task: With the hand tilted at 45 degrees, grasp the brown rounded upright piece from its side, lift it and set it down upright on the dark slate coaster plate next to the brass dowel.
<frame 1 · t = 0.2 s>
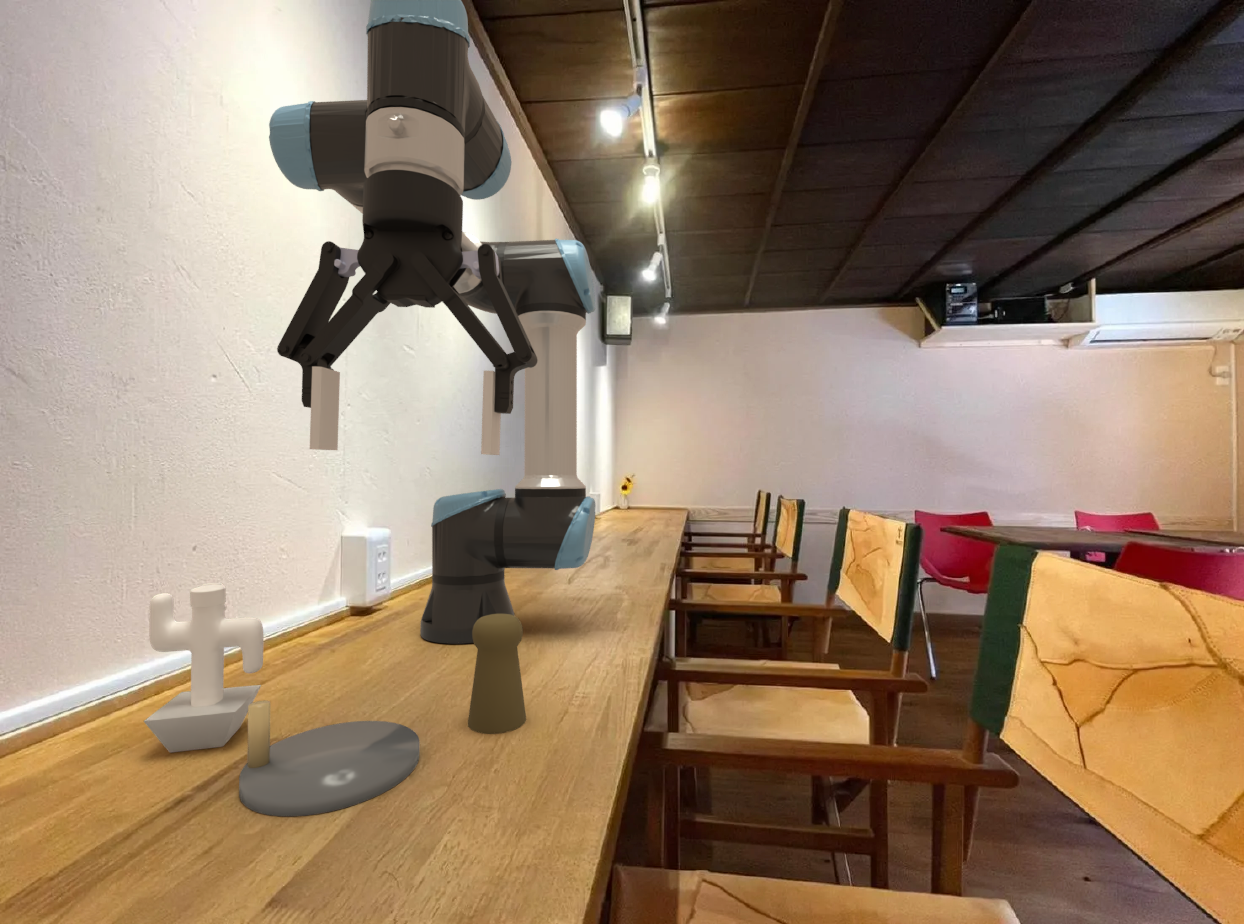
hand: (406, 452, 46), 28 cm above the table, tool pointing down, fingers open, 13 cm apart
figurine: (206, 741, 56), on the table
coaster plate: (335, 768, 50), on the table
brown rounded upright piece: (497, 722, 60), on the table
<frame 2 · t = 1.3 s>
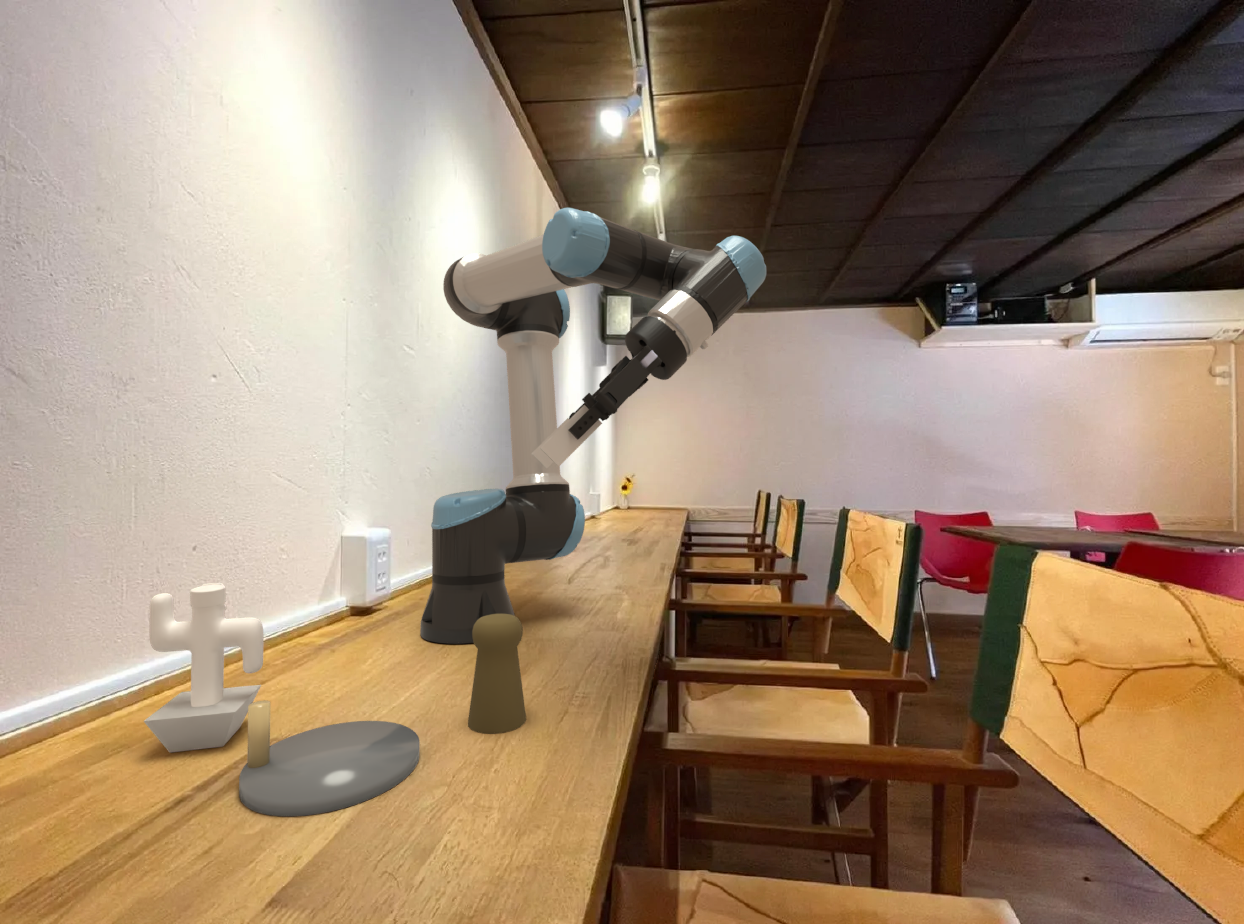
hand: (543, 459, 66), 28 cm above the table, tool tilted 45°, fingers open, 13 cm apart
nothing on the table moved.
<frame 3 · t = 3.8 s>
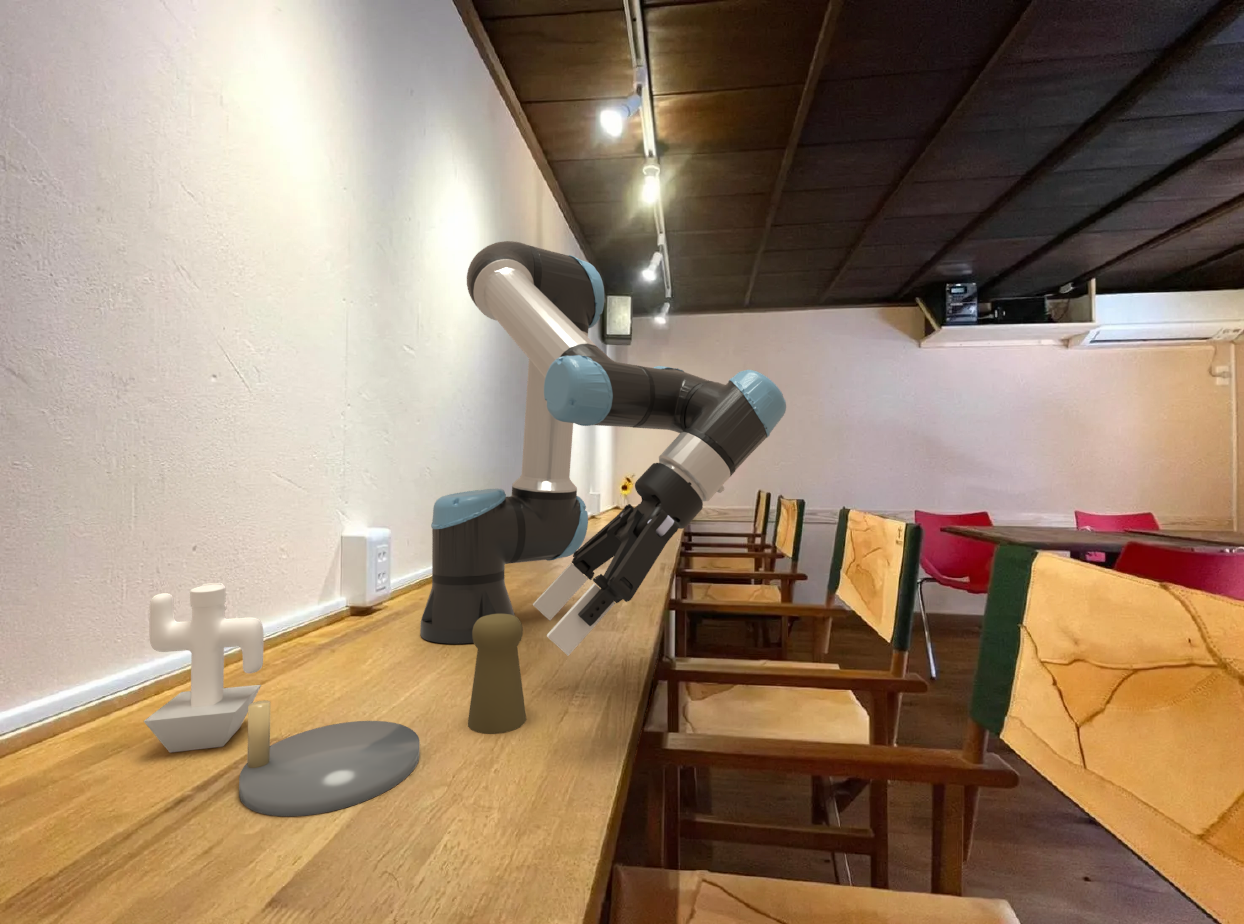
hand: (548, 627, 60), 10 cm above the table, tool tilted 45°, fingers open, 13 cm apart
nothing on the table moved.
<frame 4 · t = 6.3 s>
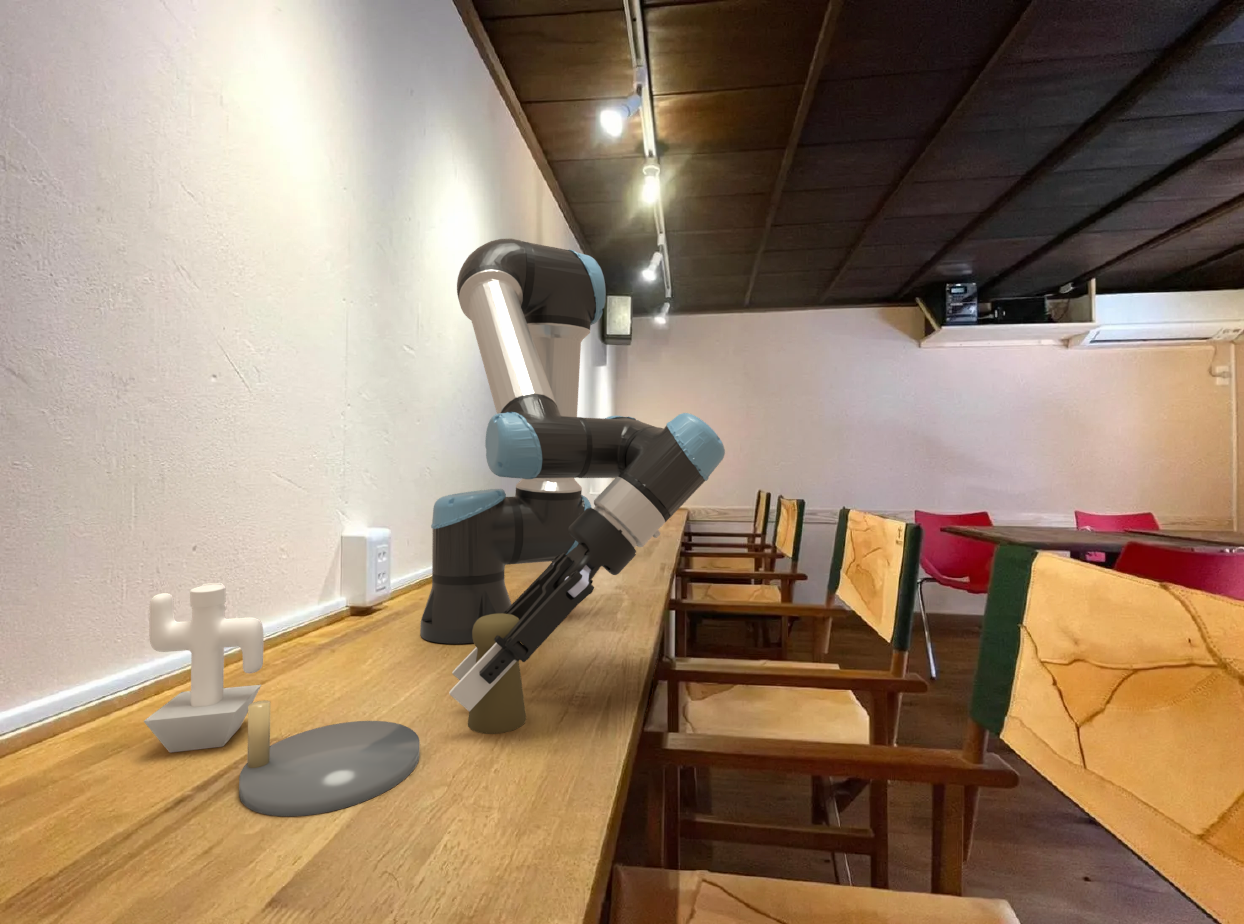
hand: (460, 690, 59), 4 cm above the table, tool tilted 45°, fingers closed on brown rounded upright piece, 5 cm apart
brown rounded upright piece: (497, 722, 60), on the table, touching gripper
everything else where it was.
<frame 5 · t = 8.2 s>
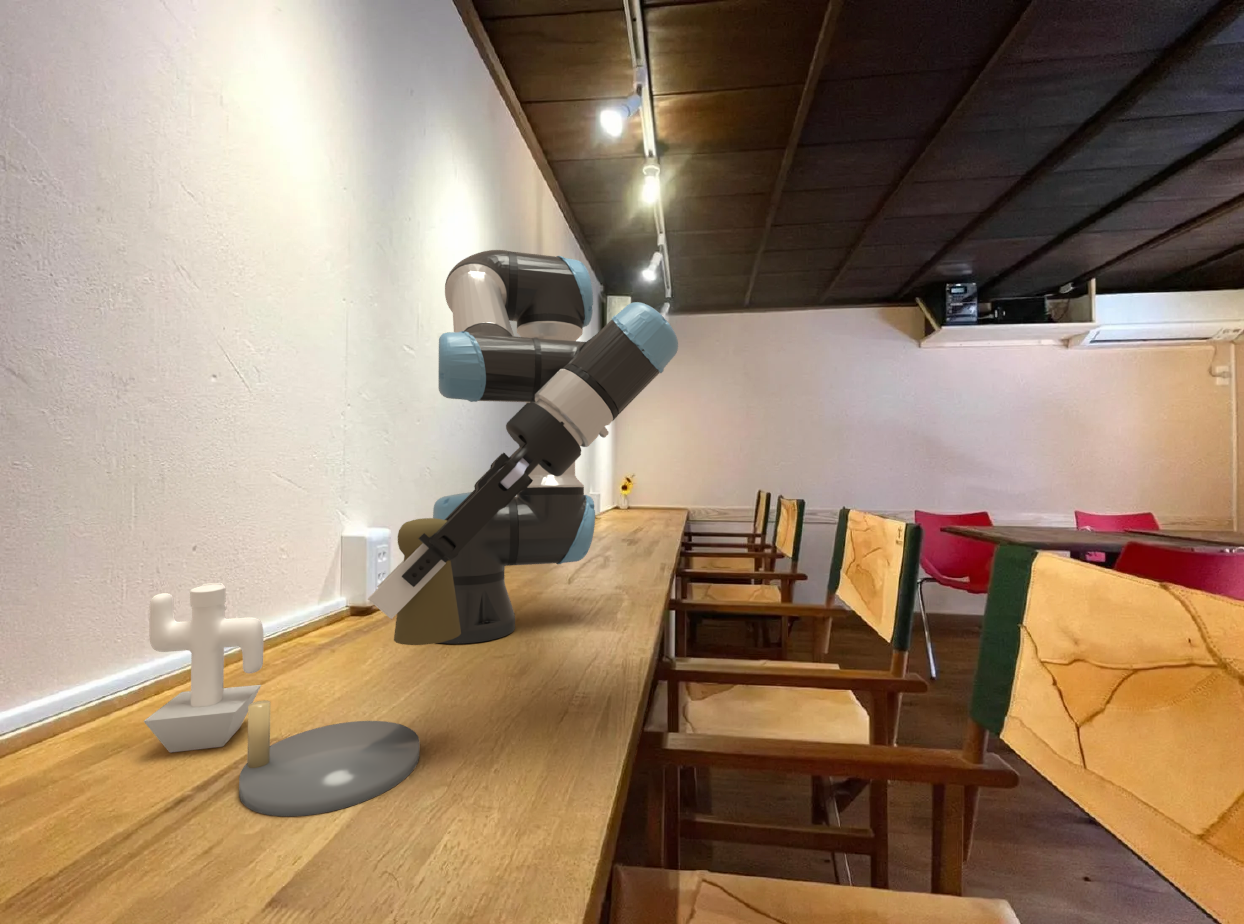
hand: (384, 601, 53), 14 cm above the table, tool tilted 45°, fingers closed on brown rounded upright piece, 5 cm apart
brown rounded upright piece: (428, 637, 54), point 10 cm above the table, touching gripper
everything else where it was.
when the fingers open (6 cm above the table, at t = 10.4 s): brown rounded upright piece drops 1 cm, resting on coaster plate.
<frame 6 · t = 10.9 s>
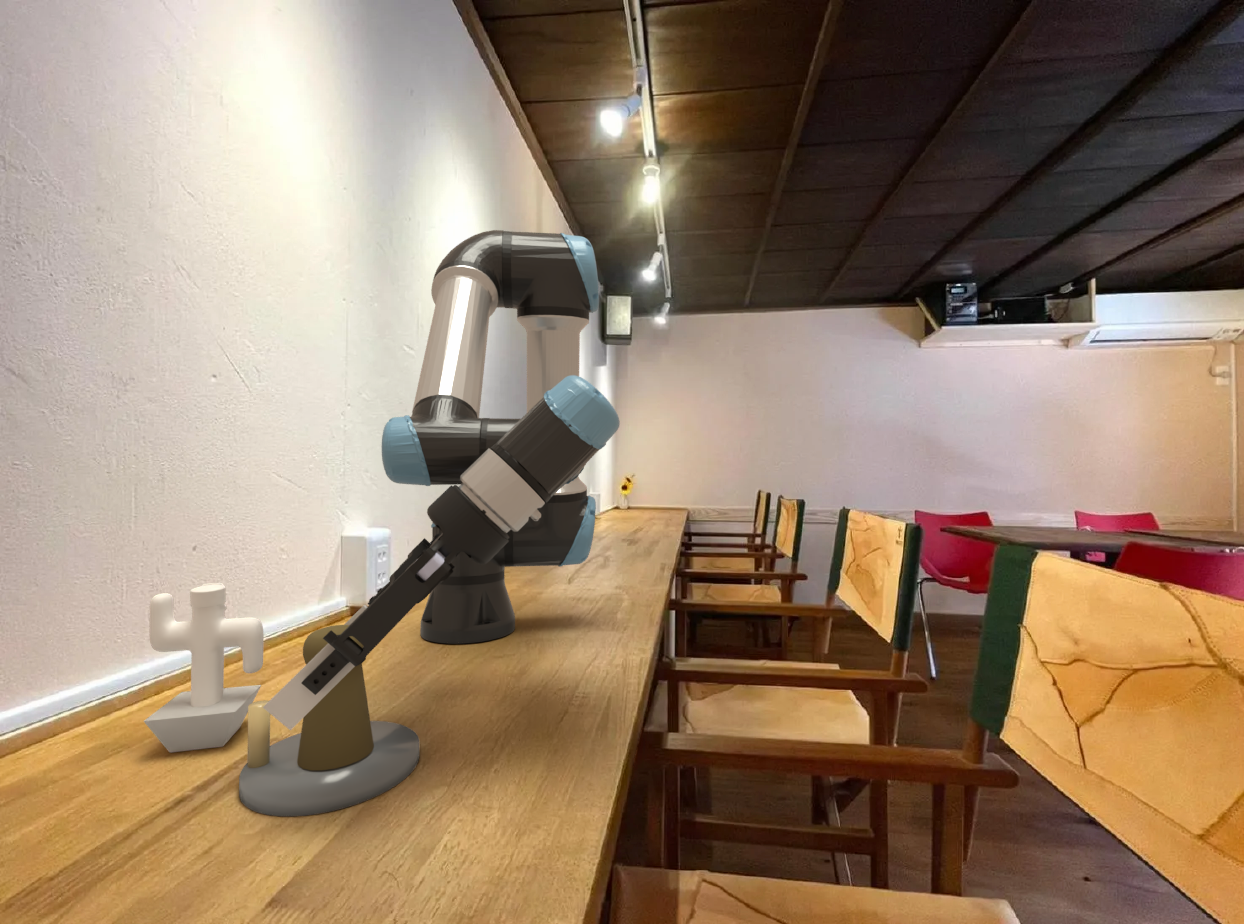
hand: (303, 687, 49), 7 cm above the table, tool tilted 45°, fingers open, 12 cm apart
brown rounded upright piece: (336, 755, 50), point 1 cm above the table, touching coaster plate
everything else where it was.
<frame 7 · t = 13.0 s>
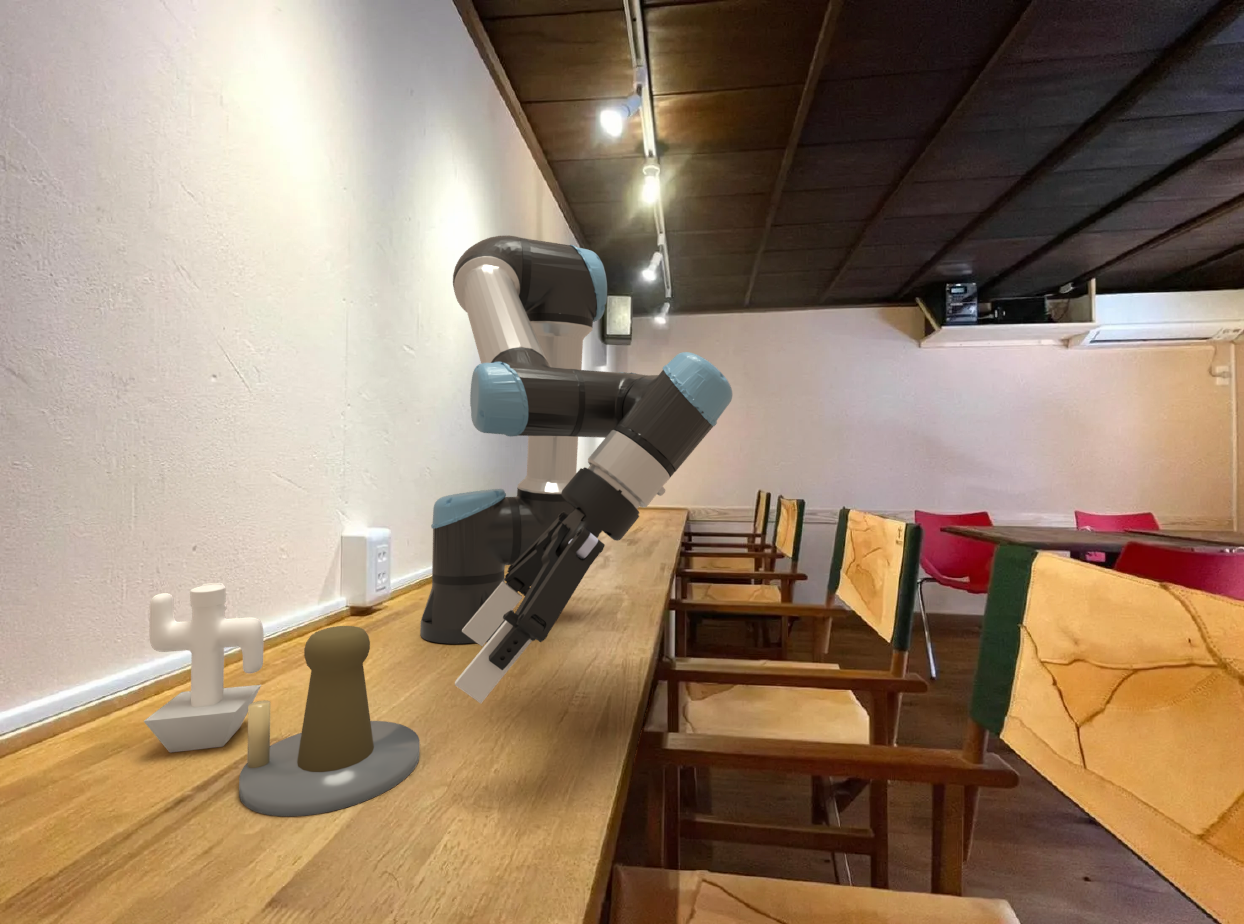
hand: (469, 662, 53), 8 cm above the table, tool tilted 40°, fingers open, 13 cm apart
nothing on the table moved.
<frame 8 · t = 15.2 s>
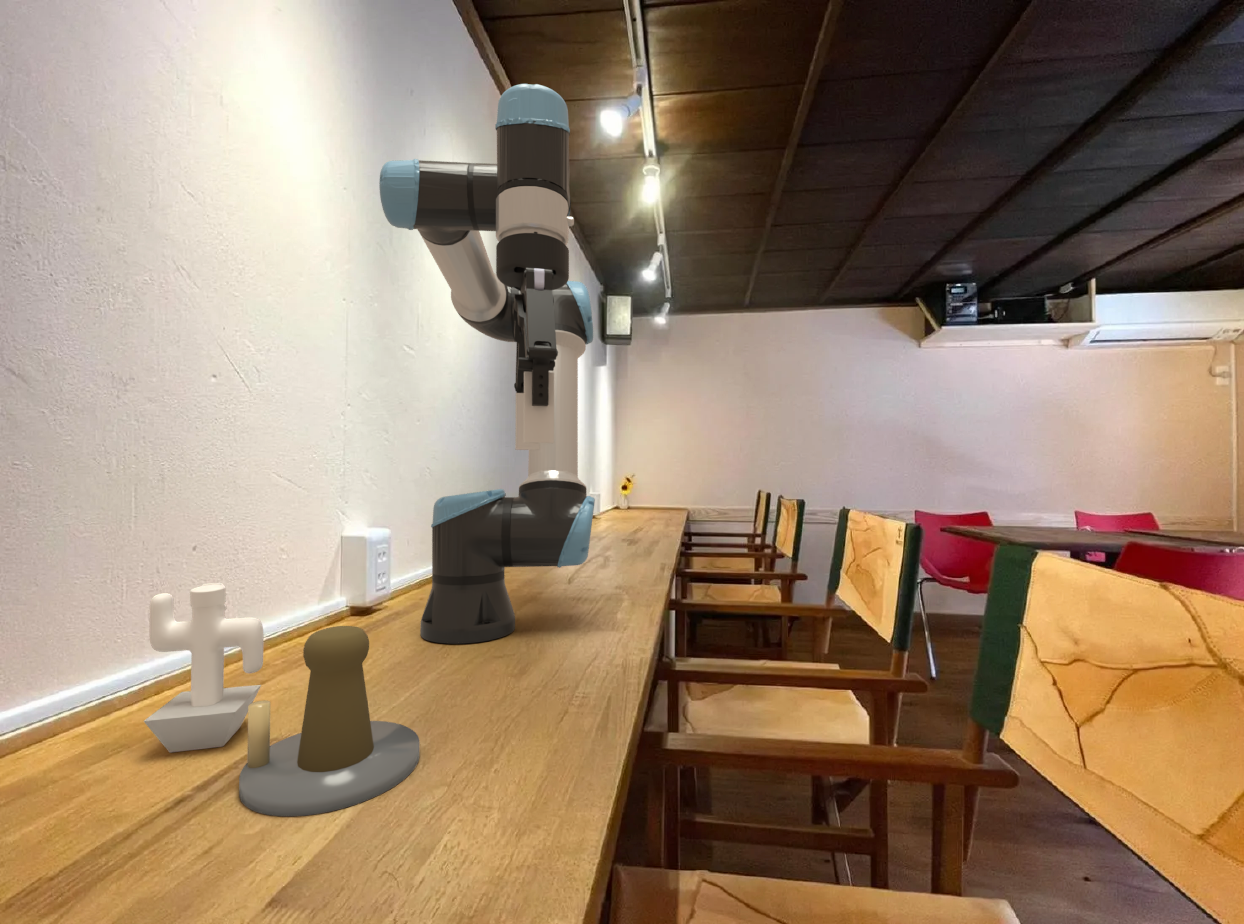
hand: (532, 447, 59), 29 cm above the table, tool pointing down, fingers open, 13 cm apart
nothing on the table moved.
at the end: brown rounded upright piece 0.1 cm from the coaster plate (horizontally); brown rounded upright piece tilted 0°; brown rounded upright piece point 1.0 cm above the table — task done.
